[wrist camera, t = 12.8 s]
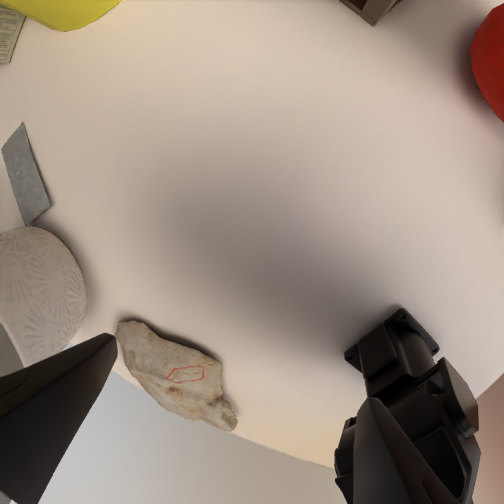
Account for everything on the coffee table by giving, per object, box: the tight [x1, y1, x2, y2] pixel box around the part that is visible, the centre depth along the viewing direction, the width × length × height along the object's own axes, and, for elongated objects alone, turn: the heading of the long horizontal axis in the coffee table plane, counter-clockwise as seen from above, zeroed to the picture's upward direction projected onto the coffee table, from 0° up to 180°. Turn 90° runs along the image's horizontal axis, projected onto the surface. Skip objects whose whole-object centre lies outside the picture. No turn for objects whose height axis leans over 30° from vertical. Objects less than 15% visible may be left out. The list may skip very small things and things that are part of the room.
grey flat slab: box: [1, 123, 50, 226], centre depth 22 cm, size 9×5×1 cm, turn 22°
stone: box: [115, 320, 238, 432], centre depth 27 cm, size 13×11×3 cm
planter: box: [0, 226, 87, 377], centre depth 21 cm, size 12×12×11 cm
